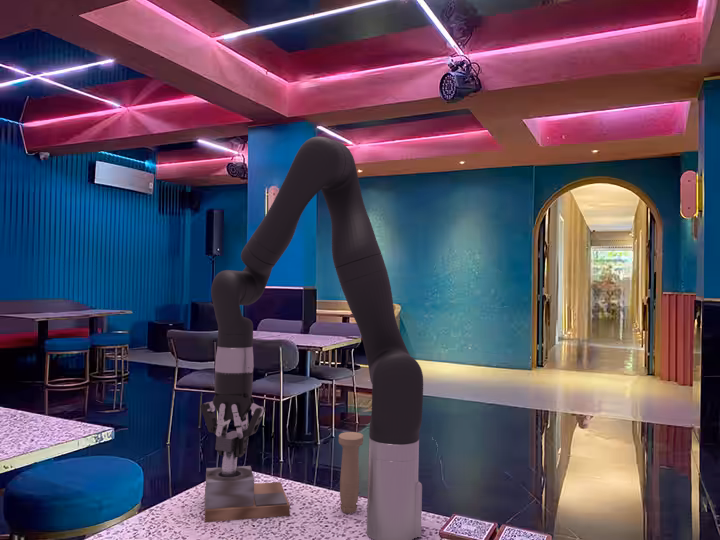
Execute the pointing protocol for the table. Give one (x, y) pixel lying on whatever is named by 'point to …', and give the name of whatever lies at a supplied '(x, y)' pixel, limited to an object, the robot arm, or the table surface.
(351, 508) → the handle
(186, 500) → the table surface
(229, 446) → the hammer
